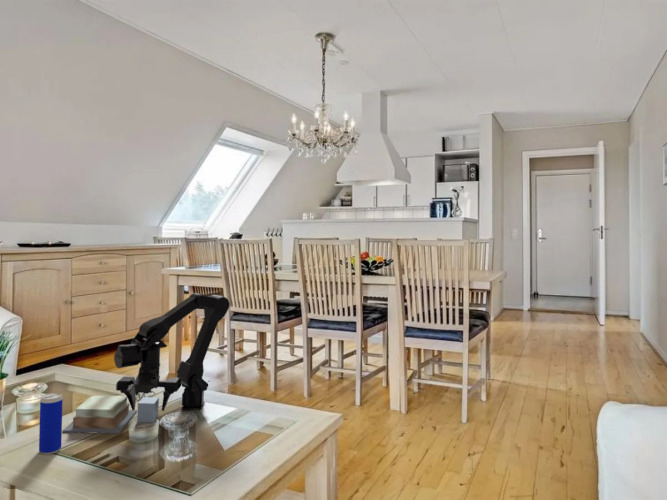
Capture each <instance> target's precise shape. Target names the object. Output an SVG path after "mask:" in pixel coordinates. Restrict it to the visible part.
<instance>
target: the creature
mask: <svg viewBox="0 0 667 500" xmlns="http://www.w3.org/2000/svg"><path fill="white" fill-rule="evenodd" d="M151 393H153V394H154V395H156V393H155V391H153V390H151V392H150V393H149V394H151ZM141 395H143V397H146V395H145V393H136V397H137V396H138V398H139V399H141V397H140V396H141Z"/></svg>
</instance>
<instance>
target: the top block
mask: <svg viewBox="0 0 667 500" xmlns="http://www.w3.org/2000/svg"><path fill="white" fill-rule="evenodd" d="M159 401H160V397H150V396H149V397H147V396H145V397H144V396H143V397H141V398H140V400H139V401H138V402H137V415H136V416H137V419H136V420H137V421H136V422H137V423H154V422H155V421H156V419H157V418H158V416H159V403H160V402H159Z"/></svg>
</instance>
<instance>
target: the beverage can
mask: <svg viewBox="0 0 667 500" xmlns="http://www.w3.org/2000/svg"><path fill="white" fill-rule="evenodd" d="M63 399H64V398H63V395H62V394H61V393H58V392H51V393H45V394H44V395H41V399H40V401H39V402H40V403H39V429H38V431H39V437H38V439H39V440H38V451H39V452H40V453H41V454H42V455H52V453H53V454H55V452H56V453H57V452H60V450H61V448H62V439H63V438H62V436H63V435H62V434H63V433H62V432H63V428H62V427H63V401H64V400H63Z"/></svg>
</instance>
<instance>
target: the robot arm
mask: <svg viewBox="0 0 667 500" xmlns="http://www.w3.org/2000/svg"><path fill="white" fill-rule="evenodd" d="M230 306H231V303H230V301H229V299H228V298H227V297H225V296H222V295H217V294H211V295H209V296H207V295H203V294H201V293H197V292H194V293H191V294H190V295H189V297H187V298H186V299H184V300H182V301H181V302H180V303H177V305H176V306H174V307H173V308H171V309H169V310H168V311H167V312H165V313H164V314H162V315H161V316H157V317H153V318H151V319H149V320H147V321H145V322H143V323H142V324H141V325H139V329H138V332H137V333H136V335H134V338H133V339H132V340H131V342H130V344H129V343H128V344H119V345H117V349H116V350H115V352H114V357H113V359H114V365H115V367H116V368H117V369H123V368H128V367H134V366H138V365H140V366H139V369H138V373H137V376H136V378H135V376H123V377H121V378H120V379H119V380H118V381H116V384H115V387H116V388H115V390H116V392H117V391H120V393H121V394H124V395H125V396H127V401H128V402H129V406H130V407H131V410H133V411H134V410H136V400H137V398H136V397H137V396H136V393H138V394H143V393H144V394H151V393H150V392H151V391H152V390H154V389H158V388H163V390H164V391H163V392H162V393H163V394H162V395H163V397H162V404H161V405H162V406H161V410H162V412H164V411H165V409H166V407H167V403H168V401H169V399H170V396H171V395H173V394H174V393H176V392H178V391H179V390H180V388H181V387H182V388H184V389H183V392H182V394H181V406H182V407H181V410H202V409H203V407H204V406H205V405H204V404H205V400H204V399H205V391H207V390H208V387H209V383H208V382H206V380H205V379H204V378H203V376H204V371H205V369H204V361H205V359H206V355H207V353H208V350H209V347H210V345H211V342H212V339H213V337H214V334H215V332H216V329H217V326H218V324H219V322H221V320H222V319H223V318H224V317H226V314H227V313H228V311H229V308H230ZM200 307H204V308H203V312H204V319H203V321H202V324H201V326H200V330H199V332H198V334H197V337H196V340H195V342H194V345H193V348H192V350H191V353H190V355H189V357H188V358H187V359H186V360H185V361H183V360H181V361H180V363H179V367H178V369H177V370H176V373H177V375H176V377H168V378H167V379H166V380H160V379H161V375H160V367H161V361H160V359H161V349H163V348H166V347H168V345H167V343H165V342H164V341H163V338H164V337H166V336H167V335H168V333H169V332H170V330H171V329H172V328H173V326H174V325H176V324H177V323H178V322H181V321H182V320H183V319H184V318H186V317H188V315H189V314H192V313H193V312H194V311H195V310H197V309H198V308H200ZM143 340H144V341H143Z"/></svg>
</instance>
